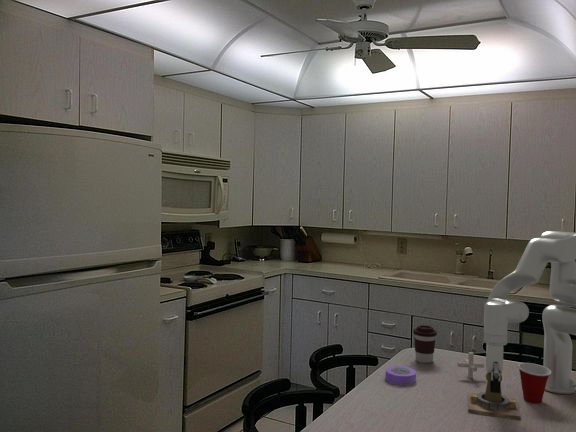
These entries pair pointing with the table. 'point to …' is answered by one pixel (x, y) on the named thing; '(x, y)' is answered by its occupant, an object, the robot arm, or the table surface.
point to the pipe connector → (470, 365)
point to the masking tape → (400, 375)
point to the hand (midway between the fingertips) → (494, 387)
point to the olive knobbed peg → (490, 395)
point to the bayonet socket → (493, 406)
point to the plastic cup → (533, 381)
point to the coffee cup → (424, 343)
